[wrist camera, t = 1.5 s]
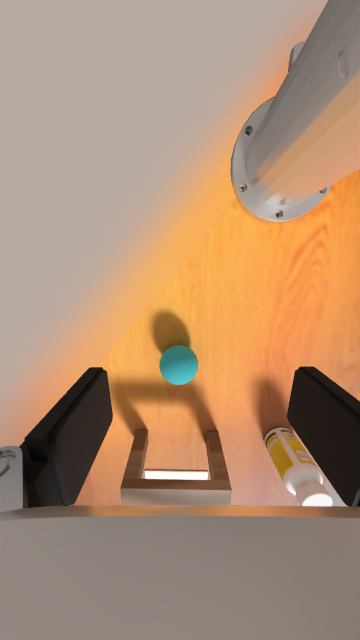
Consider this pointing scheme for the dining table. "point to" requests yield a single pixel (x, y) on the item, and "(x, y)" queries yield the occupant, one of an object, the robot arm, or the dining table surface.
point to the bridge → (175, 489)
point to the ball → (178, 364)
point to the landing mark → (176, 474)
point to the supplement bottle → (296, 468)
